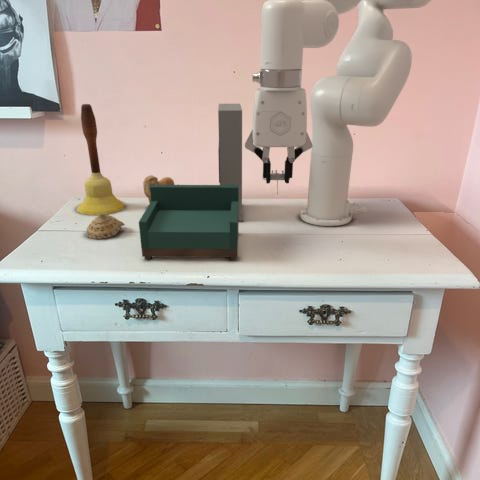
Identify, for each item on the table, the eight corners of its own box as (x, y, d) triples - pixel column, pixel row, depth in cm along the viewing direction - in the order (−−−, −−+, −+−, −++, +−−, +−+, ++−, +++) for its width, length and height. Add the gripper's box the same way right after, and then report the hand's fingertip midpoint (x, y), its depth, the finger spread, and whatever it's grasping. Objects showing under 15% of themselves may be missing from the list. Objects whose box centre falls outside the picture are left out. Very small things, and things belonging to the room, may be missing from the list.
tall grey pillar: (217, 205, 128) (215, 103, 116) (240, 205, 129) (240, 103, 116) (217, 221, 116) (214, 110, 104) (242, 221, 117) (242, 110, 104)
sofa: (238, 233, 109) (238, 185, 104) (237, 260, 96) (237, 206, 90) (155, 232, 110) (151, 184, 104) (142, 260, 96) (136, 206, 90)
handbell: (79, 202, 131) (63, 102, 118) (126, 200, 132) (114, 101, 120) (74, 216, 120) (54, 108, 107) (124, 213, 122) (110, 107, 109)
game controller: (284, 177, 103) (285, 165, 101) (304, 192, 93) (305, 179, 92) (259, 179, 102) (260, 166, 100) (277, 194, 92) (277, 181, 91)
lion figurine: (159, 214, 122) (156, 178, 117) (140, 212, 123) (137, 176, 118) (182, 198, 134) (180, 165, 129) (165, 196, 135) (162, 164, 130)
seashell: (132, 219, 111) (110, 215, 104) (129, 243, 112) (107, 241, 105) (103, 214, 114) (80, 210, 107) (100, 238, 115) (77, 235, 107)
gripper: (235, 82, 84) (236, 187, 94) (328, 81, 84) (320, 186, 93) (236, 79, 91) (236, 177, 100) (322, 78, 90) (315, 176, 100)
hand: (277, 180), depth 97 cm, fingers closed on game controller, 3 cm apart
